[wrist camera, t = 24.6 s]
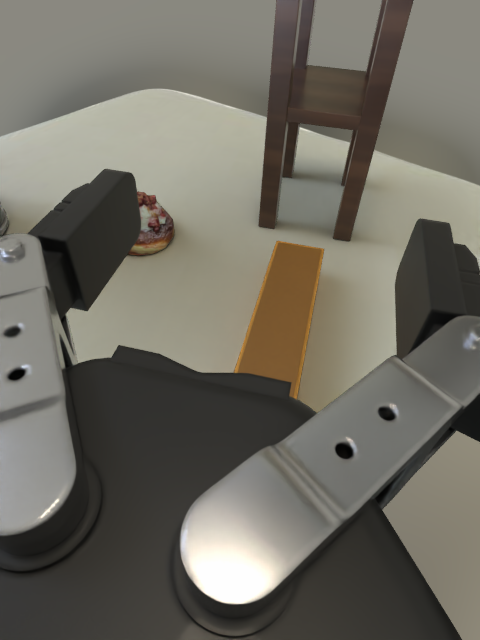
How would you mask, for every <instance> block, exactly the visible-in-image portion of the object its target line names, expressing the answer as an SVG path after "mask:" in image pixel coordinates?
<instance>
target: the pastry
mask: <svg viewBox="0 0 480 640" xmlns="http://www.w3.org/2000/svg"><path fill="white" fill-rule="evenodd" d="M137 196H138V203H139V209H140V216H141V231H140V235H139V238H138V240H137V241H136V243H135V244H134V246H133V247H132V248H131V250H130V251H129V253H128V254H131V255H147V254H154V253H156V252H158V251H160V250H162V249H164V248H166V246H167V245H168V243H169V242H170V241H171V239H172V238H173V236H174V232H175V231H174V225H173V219H172V218H171V217H170V215H169V214H168V213H167V212H166V211H165V210H164V209H163V208H162V206H160V204H159V203H158V202H157V201H156V197H155V195H152V196H148V195H146V194H145V193H144V192H137Z"/></svg>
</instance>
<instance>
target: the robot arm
mask: <svg viewBox="0 0 480 640" xmlns="http://www.w3.org/2000/svg"><path fill="white" fill-rule="evenodd" d="M8 223H9V221H8V217H7V215H6V212H5V210H4V209H3V208H2V205H1V203H0V236H1V237H0V640H462V639H461V637H460V635H459V634H458V632H457V630H456V629H455V627H454V625H453V624H452V622H451V620H450V619H449V617H448V616H447V614H446V613H445V611H444V609H443V608H442V606H441V604H440V603H439V601H438V599H437V598H436V596H435V595H434V593H433V591H432V590H431V588H430V587H429V585H428V584H427V582H426V580H425V578H424V577H423V575H422V574H421V572H420V570H419V569H418V567H417V566H416V564H415V562H414V561H413V559H412V558H411V556H410V554H409V553H408V552H407V550H406V548H405V546H404V545H403V543H402V542H401V540H400V538H399V537H398V535H397V533H396V532H395V530H394V528H393V527H392V525H391V524H390V522H389V521H388V519H387V517H386V516H385V514H384V512H383V511H382V509H383V508H384V507H385V506H386V505H387V504H388V503H389V502H390V501H391V500H392V499H393V498H394V497H395V495H396V494H397V493H398V492H399V491H400V490H401V489H402V488H403V486H404V485H405V484H406V483H407V482H408V481H409V480H410V478H411V477H412V476H413V475H414V474H415V473H416V472H417V471H418V470H419V469H420V468H421V467H422V466H423V465H424V464H425V463H426V462H427V461H428V460H429V458H430V457H431V456H432V455H433V454H434V453H435V452H436V451H437V450H438V449H439V448H440V447H441V446H442V445H443V444H444V443H445V442H446V441H447V440H448V439H449V438H450V437H451V436H452V435H453V434H454V433H455V432H456V431H459V432H461V433H463V434H465V435H467V436H469V437H471V438H473V439H475V440H477V441H479V442H480V275H479V273H480V270H479V266H478V262H477V258H476V257H475V256H474V255H473V254H472V253H471V251H470V250H469V249H468V248H467V247H466V246H465V245H461V244H455V243H453V238H452V232H451V227H450V224H449V223H446V222H439V221H433V220H426V219H419V220H418V221H417V222H416V224H415V227H414V229H413V232H412V234H411V237H410V239H409V242H408V245H407V247H406V250H405V252H404V255H403V257H402V260H401V263H400V265H399V268H398V272H397V276H396V282H395V304H396V342H397V355H394V356H391V357H390V358H388V359H387V360H385V361H384V362H383V363H382V364H380V365H379V366H378V367H376V368H375V369H374V370H373V371H371V372H370V373H369V374H367V375H366V376H365V377H364V378H362V379H361V380H360V381H358V382H357V383H356V384H355V385H353V386H352V387H351V388H349V389H348V390H347V391H346V392H344V393H343V394H342V395H340V396H339V397H338V398H337V399H335V400H334V401H333V402H331V403H330V404H329V405H328V406H326V407H325V408H324V409H322V410H321V411H320V412H319V413H316V412H315V411H313V410H312V409H311V408H310V407H308V406H307V405H305V404H304V403H302V402H301V401H299V400H297V399H295V398H293V397H291V396H289V394H290V389H291V384H292V382H288V381H283V380H278V379H274V378H269V377H264V376H260V375H255V374H250V373H201V372H197V371H194V370H192V369H190V368H188V367H186V366H184V365H182V364H179V363H177V362H175V361H173V360H171V359H169V358H167V357H165V356H163V355H161V354H157V353H153V352H148V351H143V350H139V349H134V348H129V347H125V346H120V345H118V347H117V349H116V351H115V352H114V354H113V356H112V357H111V358H101V359H94V360H89V361H85V362H81V363H78V360H77V356H76V351H75V347H74V343H73V338H72V334H71V329H70V325H69V321H68V318H67V315H66V313H67V312H68V310H69V309H70V308H74V309H79V310H84V311H88V310H89V308H90V307H91V305H92V304H93V303H94V301H95V300H96V298H97V297H98V295H99V294H100V293H101V291H102V290H103V288H104V287H105V285H106V284H107V283H108V281H109V280H110V278H111V277H112V275H113V274H114V273H115V271H116V270H117V268H118V267H119V266H120V264H121V263H122V261H123V260H124V258H125V257H126V256H127V254H128V253H129V251H130V250H131V248H132V247H133V246H134V244H135V243H136V241H137V240H138V238H139V235H140V231H141V216H140V209H139V203H138V196H137V189H136V183H135V178H134V176H133V174H132V173H129V172H123V171H116V170H110V169H104V170H103V171H102V172H101V173H100V174H99V175H98V176H97V177H96V178H95V179H94V180H93V181H92V182H91V183H90V184H89V183H87V184H85V185H83V186H81V187H79V188H77V189H74V190H72V191H71V192H70V193H69V194H68V195H67V196H66V197H65V198H64V199H63V200H62V203H59V204H58V205H57V206H56V207H55V208H54V211H52V210H51V211H50V212H49V213H48V214H47V215H46V216H45V217H44V218H43V219H42V220H41V221H40V222H39V223H38V224H37V225H36V226H35V227H34V228H33V229H32V230H31V231H30V232H29V233H28V234H19V233H18V234H9V235H4V236H2V235H3V233H4V232H5V231H6V229H7V227H8Z"/></svg>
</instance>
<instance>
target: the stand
mask: <svg viewBox="0 0 480 640" xmlns="http://www.w3.org/2000/svg"><path fill="white" fill-rule="evenodd" d="M412 4H413V0H382V2H381V6H380V11H379V15H378V20H377V24H376V29H375V33H374V38H373V42H372V47H371V51H370V56H369V60H368V65H367V69H366V71H356V70H348V69H339V68H330V67H320V66H312V65H308V59H309V51H310V43H311V37H312V29H313V22H314V13H315V7H316V0H276V13H275V25H274V37H273V51H272V63H271V75H270V88H269V101H268V113H267V126H266V139H265V151H264V164H263V177H262V189H261V202H260V214H259V226H260V227H266V228H272V229H274V228H275V226H276V223H277V218H278V210H279V201H280V192H281V183H282V177H288V178H292V175H293V172H294V164H295V157H296V149H297V142H298V134H299V127H300V123H303V124H311V125H318V126H326V127H334V128H341V129H349V130H353V133H352V137H351V141H350V146H349V150H348V155H347V159H346V164H345V168H344V173H343V177H342V183H341V185H342V186H344V189H343V194H342V198H341V203H340V207H339V211H338V216H337V220H336V224H335V229H334V235H333V239H339V240H345V241H350V238H351V234H352V231H353V227H354V223H355V219H356V216H357V212H358V208H359V204H360V200H361V197H362V193H363V189H364V185H365V182H366V178H367V174H368V170H369V166H370V163H371V159H372V155H373V151H374V147H375V144H376V140H377V136H378V132H379V129H380V125H381V121H382V117H383V113H384V110H385V106H386V102H387V98H388V95H389V91H390V87H391V83H392V79H393V76H394V72H395V68H396V64H397V61H398V57H399V53H400V49H401V46H402V42H403V38H404V34H405V31H406V27H407V22H408V19H409V15H410V12H411V8H412Z"/></svg>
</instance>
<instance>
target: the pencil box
mask: <svg viewBox="0 0 480 640" xmlns="http://www.w3.org/2000/svg"><path fill="white" fill-rule="evenodd" d="M323 253H324V249H321V248H316V247H310V246H304V245H298V244H292V243H287V242H281V241H276V244H275V247H274V250H273V253H272V257H271V260H270V263H269V266H268V269H267V272H266V275H265V278H264V281H263V284H262V287H261V290H260V293H259V297H258V300H257V303H256V306H255V309H254V312H253V315H252V318H251V321H250V324H249V327H248V330H247V333H246V337H245V340H244V343H243V346H242V349H241V352H240V355H239V358H238V361H237V364H236V367H235V370H234V373H250V374H255V375H260V376H264V377H269V378H274V379H278V380H283V381H288V382H292V384H291V389H290V394H289V396H291V397H293V398H295V399H297V396H298V390H299V385H300V379H301V374H302V368H303V363H304V357H305V352H306V346H307V341H308V335H309V330H310V324H311V319H312V313H313V308H314V302H315V297H316V292H317V286H318V281H319V275H320V270H321V264H322V259H323Z"/></svg>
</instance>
